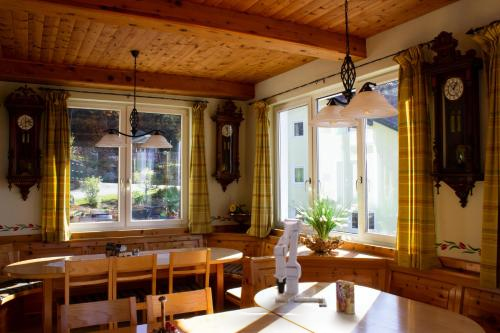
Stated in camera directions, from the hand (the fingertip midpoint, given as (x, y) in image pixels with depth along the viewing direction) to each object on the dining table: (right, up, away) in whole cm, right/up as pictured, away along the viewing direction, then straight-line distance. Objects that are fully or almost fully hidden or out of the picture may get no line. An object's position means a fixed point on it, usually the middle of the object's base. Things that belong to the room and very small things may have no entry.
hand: (281, 292), depth 235 cm
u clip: (0, -1, 0) cm, 1 cm away
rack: (+15, -6, -2) cm, 16 cm away
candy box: (+31, -5, -17) cm, 36 cm away
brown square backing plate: (0, -6, 0) cm, 6 cm away
